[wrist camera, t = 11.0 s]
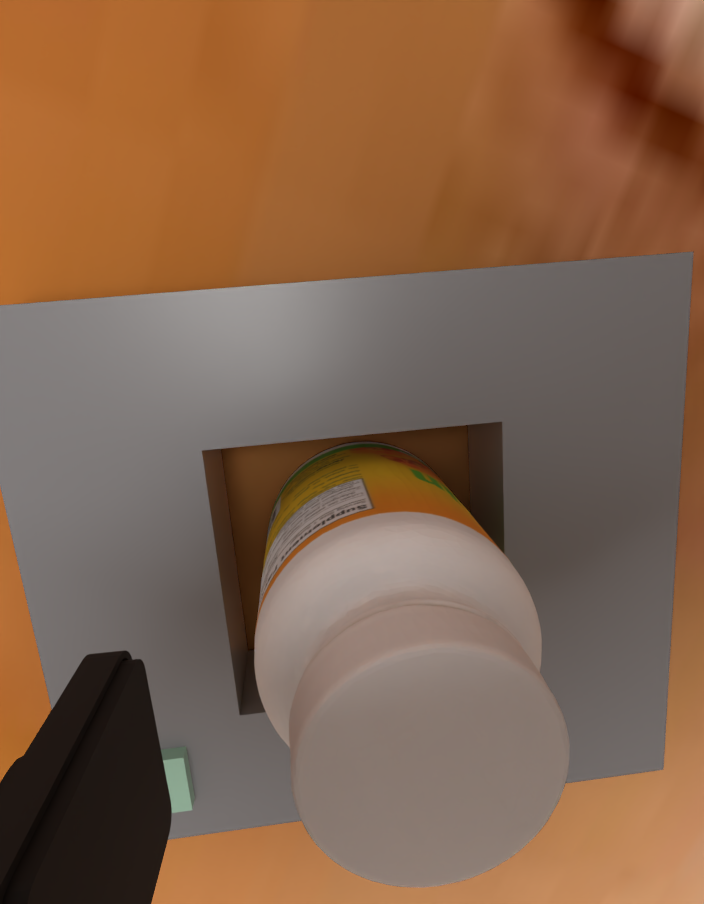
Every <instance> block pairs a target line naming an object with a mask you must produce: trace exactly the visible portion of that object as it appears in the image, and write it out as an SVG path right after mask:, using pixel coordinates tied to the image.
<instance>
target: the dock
mask: <svg viewBox="0 0 704 904" xmlns="http://www.w3.org/2000/svg"><path fill="white" fill-rule="evenodd" d="M692 268H693V252H683V253H670V254H657V255H644V256H631V257H618V258H605V259H593V260H580V261H567V262H554V263H541V264H528V265H515V266H502V267H490V268H477V269H464V270H451V271H438V272H425V273H412V274H399V275H387V276H374V277H361V278H348V279H335V280H322V281H309V282H296V283H284V284H271V285H258V286H245V287H232V288H219V289H206V290H193V291H181V292H168V293H155V294H142V295H129V296H116V297H103V298H90V299H78V300H65V301H52V302H39V303H26V304H13V305H0V487H1V491H2V496H3V500H4V504H5V509H6V513H7V517H8V522H9V526H10V530H11V535H12V539H13V543H14V548H15V552H16V556H17V561H18V565H19V569H20V574H21V578H22V582H23V587H24V591H25V595H26V600H27V604H28V608H29V613H30V617H31V621H32V626H33V630H34V634H35V639H36V643H37V647H38V652H39V656H40V660H41V665H42V669H43V673H44V678H45V682H46V686H47V691H48V695H49V699H50V704H51V708H52V709H53V707H54V706H55V704H56V702H57V701H58V699H59V698H60V696H61V694H62V693H63V691H64V689H65V688H66V686H67V684H68V683H69V681H70V680H71V678H72V676H73V675H74V673H75V671H76V670H77V668H78V667H79V665H80V663H81V662H82V660H83V659H84V657H85V656H86V655H88V654H95V653H104V652H114V651H124V650H126V651H128V652H129V653H130V655H131V657H132V660H134V659H141V660H142V661H143V663H144V666H145V670H146V675H147V680H148V685H149V690H150V696H151V701H152V706H153V711H154V716H155V722H156V727H157V732H158V737H159V742H160V748H161V753H162V758H163V763H164V768H165V774H166V779H167V784H168V789H169V794H170V800H171V808H172V817H171V828H170V832H169V836H168V840H169V839H176V838H183V837H190V836H197V835H204V834H211V833H218V832H225V831H232V830H240V829H247V828H254V827H261V826H268V825H275V824H282V823H289V822H296V821H302V820H301V818H300V816H299V814H298V811H297V809H296V805H295V802H294V798H293V792H292V785H291V758H290V748H289V746H288V745H287V744H286V743H285V742H284V741H283V739H282V738H281V737H280V736H279V734H278V733H277V731H276V730H275V728H274V726H273V725H272V723H271V721H270V719H269V717H268V715H267V713H266V711H265V709H264V707H263V704H262V701H261V698H260V695H259V692H258V687H257V682H256V676H255V667H254V650H248V646H247V638H246V631H245V624H244V616H243V609H242V601H241V594H240V586H239V579H238V572H237V564H236V557H235V549H234V542H233V535H232V527H231V520H230V512H229V505H228V497H227V490H226V483H225V475H224V468H223V460H222V453H221V449H223V448H234V447H244V446H255V445H265V444H275V443H286V442H296V441H306V440H317V439H327V438H337V437H348V436H358V435H368V434H379V433H389V432H400V431H410V430H420V429H431V428H441V427H451V426H462V425H468V449H469V481H470V513H471V515H472V516H473V517H474V519H475V520H476V521H477V522H478V524H479V525H480V526H481V527H482V528H483V530H484V531H485V532H486V533H487V534H488V536H489V537H490V538H491V539H492V540H493V541H494V543H495V544H496V545H497V546H498V547H499V548H500V550H501V551H502V552H503V553H504V554H505V555H506V557H507V558H508V559H509V560H510V562H511V563H512V565H513V566H514V568H515V569H516V570H517V572H518V573H519V575H520V576H521V578H522V579H523V581H524V583H525V585H526V587H527V589H528V591H529V592H530V595H531V597H532V600H533V603H534V605H535V608H536V611H537V615H538V619H539V624H540V628H541V638H542V652H541V667H540V674H541V675H542V677H543V679H544V680H545V682H546V684H547V686H548V687H549V689H550V690H551V692H552V693H553V695H554V697H555V699H556V701H557V703H558V705H559V707H560V709H561V711H562V714H563V717H564V720H565V723H566V727H567V732H568V736H569V767H568V774H567V778H566V782H565V783H572V782H579V781H586V780H593V779H600V778H607V777H614V776H621V775H628V774H635V773H642V772H649V771H656V770H663V767H664V750H665V733H666V715H667V698H668V681H669V664H670V646H671V629H672V612H673V595H674V578H675V560H676V543H677V526H678V509H679V492H680V474H681V457H682V440H683V423H684V406H685V388H686V371H687V354H688V337H689V320H690V302H691V285H692Z"/></svg>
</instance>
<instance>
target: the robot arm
mask: <svg viewBox="0 0 704 904" xmlns="http://www.w3.org/2000/svg"><path fill="white" fill-rule="evenodd" d="M171 817H172V808H171V800H170V794H169V789H168V784H167V779H166V774H165V768H164V763H163V758H162V753H161V748H160V742H159V737H158V732H157V727H156V722H155V716H154V711H153V706H152V701H151V696H150V690H149V685H148V680H147V675H146V670H145V666H144V663H143V661H142V660H141V659H134V660H132V657H131V655H130V653H129V652H128V651H126V650H124V651H114V652H104V653H95V654H88V655H86V656H85V657H84V659H83V660H82V662H81V663H80V665H79V667H78V668H77V670H76V671H75V673H74V675H73V676H72V678H71V680H70V681H69V683H68V684H67V686H66V688H65V689H64V691H63V693H62V694H61V696H60V698H59V699H58V701H57V702H56V704H55V706H54V707H53V709H52V711H51V712H50V714H49V715H48V717H47V719H46V720H45V722H44V724H43V725H42V727H41V728H40V730H39V732H38V733H37V735H36V737H35V738H34V740H33V741H32V743H31V745H30V746H29V748H28V750H27V751H26V753H25V754H24V756H22V757H20V758H19V759H17V760H16V761H15V762H14V763H13V765H12V766H11V767H10V768H9V770H8V771H7V773H6V774H5V776H4V778H3V779H2V781H1V782H0V904H151V902H152V898H153V894H154V890H155V886H156V883H157V879H158V875H159V871H160V867H161V863H162V860H163V856H164V852H165V848H166V844H167V840H168V836H169V832H170V828H171Z"/></svg>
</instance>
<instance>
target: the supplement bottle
mask: <svg viewBox="0 0 704 904" xmlns="http://www.w3.org/2000/svg"><path fill="white" fill-rule="evenodd" d="M541 652H542V638H541V628H540V624H539V619H538V615H537V611H536V608H535V605H534V603H533V600H532V597H531V595H530V592H529V591H528V589H527V587H526V585H525V583H524V581H523V579H522V578H521V576H520V575H519V573H518V572H517V570H516V569H515V568H514V566H513V565H512V563H511V562H510V560H509V559H508V558H507V557H506V555H505V554H504V553H503V552H502V551H501V550H500V548H499V547H498V546H497V545H496V544H495V543H494V541H493V540H492V539H491V538H490V537H489V536H488V534H487V533H486V532H485V531H484V530H483V528H482V527H481V526H480V525H479V524H478V522H477V521H476V520H475V519H474V517H473V516H472V515H471V514H470V512H469V511H468V510H467V509H466V508H465V507H464V506H463V505H462V504H461V502H460V501H459V500H458V499H457V498H456V496H455V495H454V494H453V493H452V492H451V491H450V490H449V488H448V487H447V486H446V485H445V484H444V482H443V481H442V480H441V479H440V478H439V476H438V475H437V474H436V473H435V472H434V471H433V470H432V469H431V468H430V467H429V466H428V465H426V464H425V463H424V462H423V461H422V460H420V459H419V458H417V457H416V456H414V455H413V454H411V453H409V452H407V451H405V450H403V449H401V448H398V447H395V446H392V445H389V444H384V443H379V442H352V443H347V444H342V445H338V446H335V447H333V448H330V449H327V450H325V451H323V452H321V453H319V454H317V455H315V456H314V457H312V458H310V459H309V460H308V461H306V462H305V463H304V464H302V465H301V466H300V467H299V468H298V469H297V470H296V471H295V472H294V473H293V474H292V475H291V476H290V477H289V479H288V480H287V481H286V483H285V484H284V486H283V488H282V489H281V491H280V493H279V495H278V497H277V499H276V501H275V504H274V507H273V510H272V513H271V517H270V521H269V526H268V533H267V542H266V551H265V558H264V566H263V573H262V579H261V591H260V600H259V608H258V616H257V622H256V630H255V649H254V667H255V676H256V682H257V687H258V692H259V695H260V698H261V701H262V704H263V707H264V709H265V711H266V713H267V715H268V717H269V719H270V721H271V723H272V725H273V726H274V728H275V730H276V731H277V733H278V734H279V736H280V737H281V738H282V739H283V741H284V742H285V743H286V744H287V745H288V746H289V748H290V758H291V785H292V792H293V798H294V802H295V805H296V809H297V811H298V814H299V816H300V818H301V820H302V822H303V824H304V826H305V828H306V830H307V832H308V834H309V835H310V836H311V838H312V839H313V841H314V842H315V843H316V845H317V846H318V847H319V848H320V849H321V850H322V851H323V852H324V853H325V854H326V855H327V856H328V857H330V858H331V859H332V860H333V861H334V862H336V863H337V864H339V865H340V866H342V867H343V868H345V869H347V870H348V871H350V872H352V873H354V874H356V875H358V876H361V877H363V878H366V879H368V880H371V881H374V882H379V883H383V884H387V885H392V886H399V887H433V886H441V885H445V884H450V883H455V882H459V881H463V880H466V879H469V878H472V877H475V876H477V875H479V874H482V873H484V872H486V871H488V870H490V869H492V868H494V867H496V866H498V865H499V864H501V863H502V862H504V861H506V860H508V859H509V858H511V857H512V856H513V855H515V854H516V853H517V852H518V851H520V850H521V849H522V848H523V847H524V846H525V845H526V844H527V843H529V842H530V841H531V840H532V839H533V838H534V837H535V836H536V835H537V833H538V832H539V831H540V830H541V829H542V827H543V826H544V825H545V823H546V822H547V821H548V819H549V817H550V816H551V814H552V812H553V810H554V809H555V807H556V805H557V803H558V801H559V799H560V797H561V794H562V791H563V789H564V786H565V782H566V778H567V774H568V767H569V736H568V732H567V727H566V723H565V720H564V717H563V714H562V711H561V709H560V707H559V705H558V703H557V701H556V699H555V697H554V695H553V693H552V692H551V690H550V689H549V687H548V686H547V684H546V682H545V680H544V679H543V677H542V675H541V674H540V667H541Z"/></svg>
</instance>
